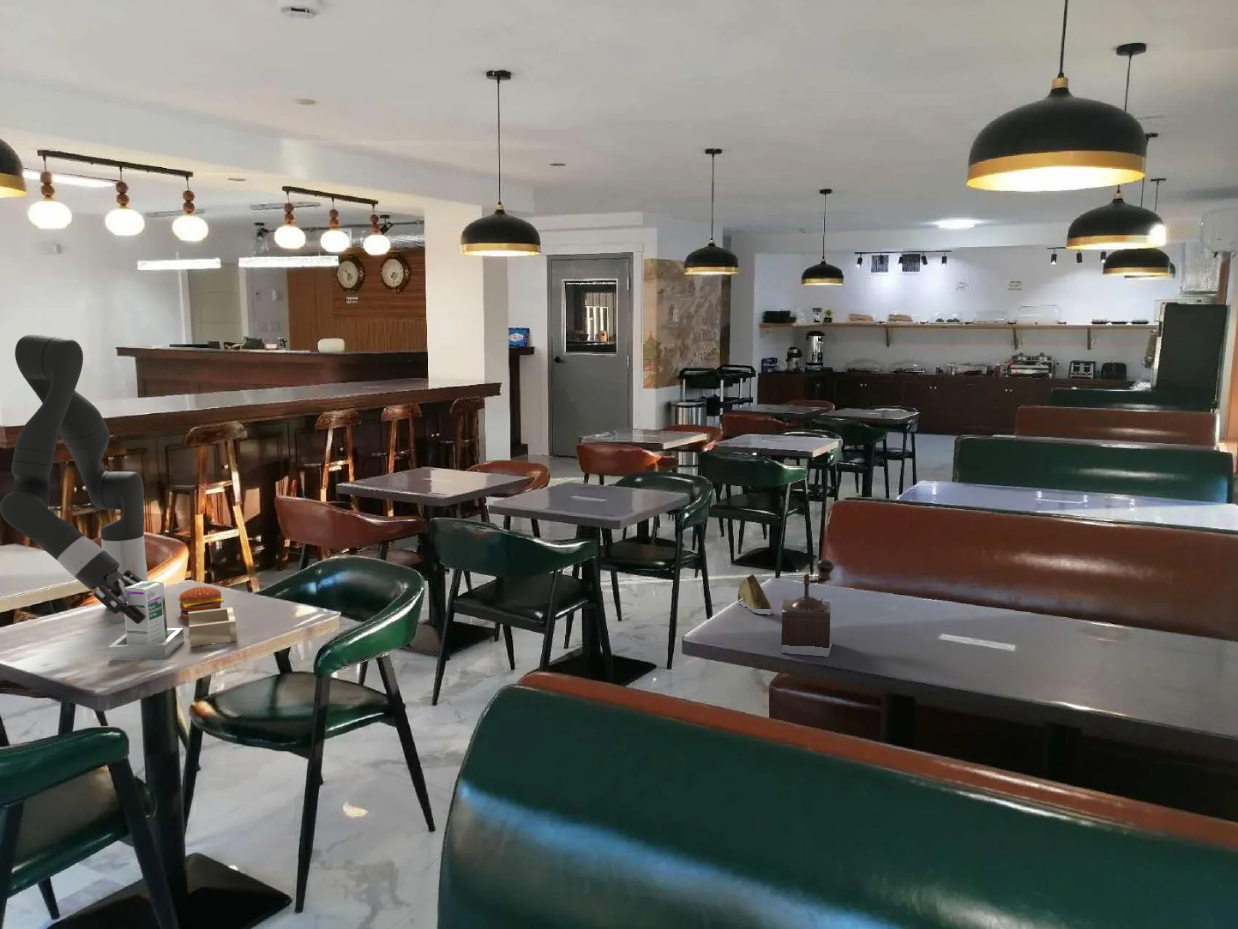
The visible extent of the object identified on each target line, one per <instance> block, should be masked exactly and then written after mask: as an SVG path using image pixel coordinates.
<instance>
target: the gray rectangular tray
mask: <svg viewBox="0 0 1238 929" xmlns="http://www.w3.org/2000/svg"><path fill="white" fill-rule="evenodd" d="M167 631H168V638H167V639H166V640H165V641H164V642H163V643H162V644H134V645H127V639H126V632H125V633H124V634H123V635H122V636H119V638H118V639H116V640H115V641H114V642H113V643H111V644H110V645H109V646H108V656H109V661H110V662H113V661H141V660H140V659H152V660H166V659H167V658H169V656H171V655H172V654H173V653H174V652H175V651H176V650H177V649H178V648H179V647H180V646H181V645H182V644H183V643H184V642H183V641H185V639H184V638H185V635H184V627H180V628H179V627H177V628H175V627H173V628H172V627H171V628H170V627H167ZM182 642H183V643H182ZM181 643H182V644H181ZM180 644H181V645H180ZM179 645H180V646H179ZM178 646H179V647H178ZM177 647H178V648H177ZM176 648H177V649H176ZM175 649H176V650H175ZM174 650H175V651H174ZM173 651H174V652H173ZM172 652H173V653H172ZM171 653H172V654H171Z"/></svg>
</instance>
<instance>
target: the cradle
mask: <svg viewBox="0 0 1238 929" xmlns="http://www.w3.org/2000/svg"><path fill="white" fill-rule="evenodd" d="M234 612H235V611H234V609H233V606H230V607H221V608H220V609H211V610H202V611H194V612H188V617H189V620H188V631H189V632H188V633H189V642H190V644H189V645H190V646H195V647H201V646H200V645H203V646H208V645H207V644H211V645H213V644H212V643H219V644H225V642H226V643H232V642H231V641H234V642H237V640H238V638H237V625H236V624H237V622H236V617H235V613H234ZM205 644H206V645H205Z"/></svg>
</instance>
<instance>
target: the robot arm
mask: <svg viewBox="0 0 1238 929" xmlns="http://www.w3.org/2000/svg"><path fill="white" fill-rule="evenodd" d="M15 344H16V345H15V348H14V358H15V362H16V365H17V367H18V369H19V371H20V373H21V375H22V376H23V379H25V380H26V382H27V384H28V385H29V386H30V388H31V389H32V390H33V392H34V393H35V394H36V396H37V397H38V399H39V400H40V402H41V403H42V404H41V405H40V407H39V408H38V409H37V410H36V412H35V413H34V414H33V415H32V416H31V417H30V419H29V420H28V421H27V422H26V423H25V424H24V425H23V426H22V428H21V430H20V432H19V434H18V436H17V438H16V442H15V446H14V452H13V458H12V461H11V462H12V463H11V474H12V476H13V477H14V478H13V479H14V480H13V488H12V492H10V493H8V494H6V495H5V496H4V497H3V498H2V500H1V501H0V515H1V517H2V518H3V520H4V521H5V522H6V523H7V524H8V525H10V526H11V527H12V528H14V529H15V530H16V531H18V532H19V533H21V534H22V535H23V536H25V537H27V538H28V539H30V540H32V541H33V542H35V543H36V544H38V545H39V546H40V547H41V548H42V550H44V551H45V552H46V553H48V554H49V555H50V556H51V557H52V558H53V559H54V560H56V561H57V562H58V563H59V564H60V565H61V566H62V567H63V568H64V569H65V570H66V572H68V573H69V574H71V576H73V577H74V578H75V579H76V580H78V582H80V583H81V584H82V585H84V587H86V588H88V590H90V591H95V590H96V591H95V592H94V593H93V594H92V595H93V596H94V598H96V599H97V600H98V601H99V602H100V603H101V604H102V605H104V606H105V607H107V608H106V609H107V610H109V611H110V612H112V614H115V615H116V614H118V613H119V614H123V615H124V614H125V615H127V616H128V617H129V618H130V619H131V620H133V621H134V622H135V623H136V624H139V623H140V622H142V621H143V620H144V619H145V615H144V614H143V613H142V612H141V611H139V610H138V609H137V608H136V607H135V606H134V605H131V603H130V601H129V599H128V596H129V595H128V593H127V591H126V589H125V588H126V587H129V586H132V585H134V584H137V583H139V582H141V581H149V580H148V567H147V566H148V564H147V560H146V547H145V531H144V530H145V528H144V527H145V490H144V489H145V487H144V482H143V478H142V477H141V474H139V473H138V472H136V471H107V470H106V469H104V467H103V465H102V462H101V461H102V458H103V456H104V454H105V452H106V450H107V448H108V446H109V442H110V439H111V438H110V436H111V435H110V430H109V428H108V426H107V424H106V422H105V420H104V418H103V416H102V414H101V412H100V411H99V409H98V408H97V407H96V406H95V405H94V404H93V403H92V402H91V401H89V400H88V399H87V398H86V397H84V396H83V395H82V394H80V393H79V392H78V391H76V388H77V385H78V383H79V379H80V376H81V372H82V369H83V365H84V364H83V363H84V353H83V349H82V347H81V345H80V344H79V342H78V341H77V340H75V339H72V338H68V337H61V336H60V337H59V336H51V335H42V334H27V335H24V336H22V337H21V338H19V340H17V343H15ZM59 436H60V437H61V440H62V442H63V443H64V445H65V447H66V448H67V450H68V452H69V454H70V455H71V457H72V459H73V461H74V463H75V465H76V467H77V470H78V471H79V474H80V476H81V480H82V481H83V485H84V487H85V489H86V492H87V494H88V496H89V499H90V501H91V503H92V504H93V506H95V507H96V508H97V509H99V510H105V511H106V510H108V511H112V510H113V511H115V510H116V511H118V510H119V511H120V510H122V517H121V518H120V519H118V520H116V521H113V522H111V523H107V524H105V525H103V526H102V527H101V528H100V538H101V539H100V541H101V545H99V544H98V543H96V542H95V541H93V540H92V539H91V538H89V537H87V536H86V535H84V534H83V533H82V532H81V531H80V530H79V529H78V528H77V527H75V526H74V525H73V524H72V523H70V522H69V521H67V520H65V519H64V518H61V517H59V516H57V515H56V513H54V512H53V511H51V509H49V505H50V498H51V494H50V493H51V473H52V469H53V464H54V460H55V453H56V449H57V444H58V439H59ZM123 602H124V603H123ZM130 605H131V606H130Z"/></svg>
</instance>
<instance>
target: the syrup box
mask: <svg viewBox="0 0 1238 929" xmlns="http://www.w3.org/2000/svg"><path fill="white" fill-rule="evenodd" d="M125 589H126V591H127V593H128V595H129V596H128V599H129V601H130V603H131V605H134V606H135V607H136V608H137V609H138V610H139V611H141V612H142V613H143V614H144V615H145V619H144V620H143V621H142V622H140V623H139V624H136V623H135V622H134V621H133V620H131V619H130V618H129V617H128V616H127V615H125V614H124V613H123V616H124V623H125V624H124V627H125V633H126V639H127V645H134V644H162V643H163V642H164V641H165V640H166V639H167V638H168V631H167V629H168V622H167V621H168V619H167V608H166V599H165V598H166V597H165V596H166V595H165V585H164V582H161V581H152V580H151V581H149V580H148V581H141V582H139V583H137V584H134V585H132V586H129V587H126V588H125ZM123 603H124V602H123ZM131 605H130V606H131Z"/></svg>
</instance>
